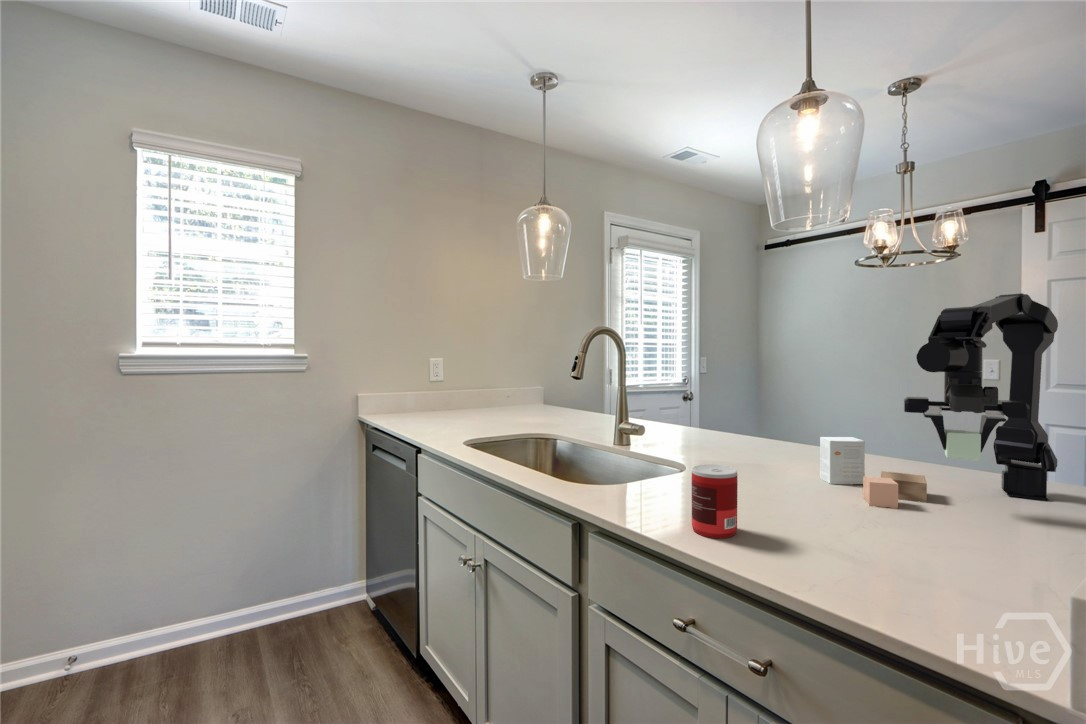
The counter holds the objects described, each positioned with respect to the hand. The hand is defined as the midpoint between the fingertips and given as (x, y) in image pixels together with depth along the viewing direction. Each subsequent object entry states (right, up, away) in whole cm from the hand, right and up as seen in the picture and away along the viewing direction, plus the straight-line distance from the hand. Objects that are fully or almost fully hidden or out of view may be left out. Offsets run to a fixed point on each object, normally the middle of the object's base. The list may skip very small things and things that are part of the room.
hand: (962, 450), depth 101 cm
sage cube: (0, -1, 0) cm, 1 cm away
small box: (-10, -12, +23) cm, 28 cm away
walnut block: (-4, -12, +12) cm, 17 cm away
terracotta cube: (-12, -12, +6) cm, 18 cm away
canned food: (-52, -13, -10) cm, 54 cm away
